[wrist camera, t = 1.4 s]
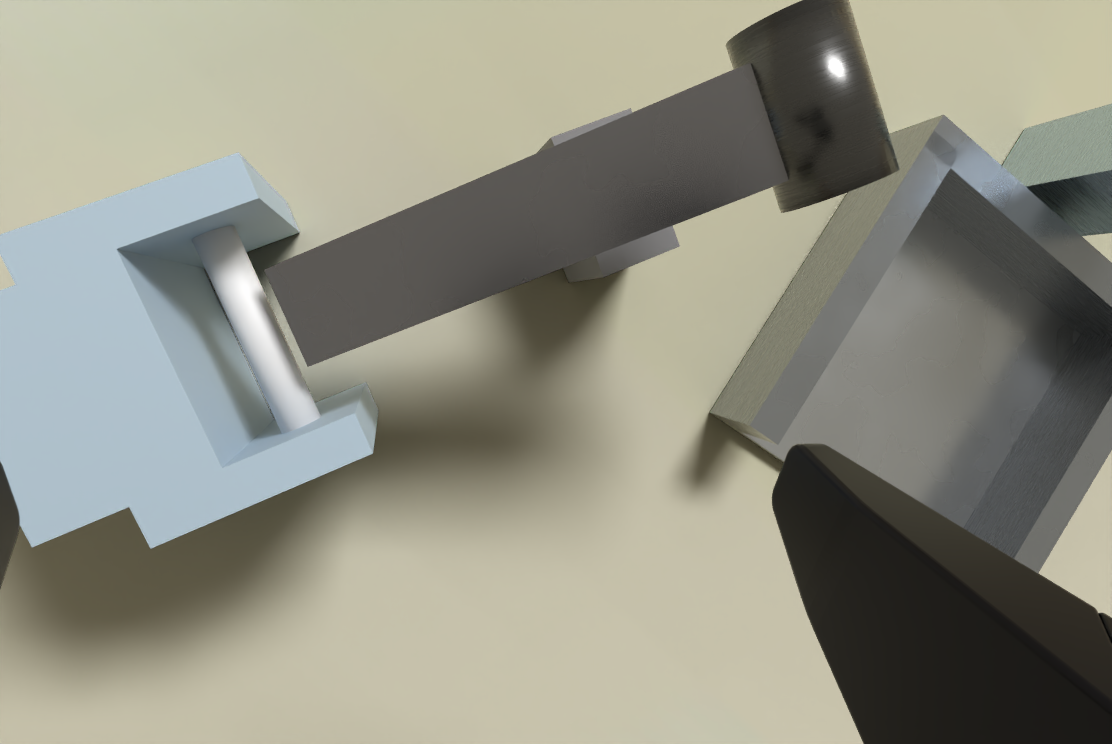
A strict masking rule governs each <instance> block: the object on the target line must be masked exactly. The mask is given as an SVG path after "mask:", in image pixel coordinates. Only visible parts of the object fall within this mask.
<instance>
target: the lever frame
mask: <svg viewBox="0 0 1112 744" xmlns="http://www.w3.org/2000/svg"><path fill="white" fill-rule="evenodd" d="M631 113H632V111H631V108H630V109H627V110H625V111H622V112H619V113H616V114H614V115H611V116H608V117H606V118H603V119H600V120H597V121H595V122H592V123H589V124H587V125H584V126H581V127H578V128H576V129H573V130H570V131H568V132H565V133H562V134H559V135H557V136H554V137H551V138H550V139H549V140H548V141H547V143H546V144H545V145H544V146H543V147H542V148H541V149H540V150H539V151H538V152H537V153H539V152H541V151H544V150H546V149H549V148H551V147H553V146H556V145H558V144H560V143H563V142H565V141H567V140H570V139H572V138H574V137H577V136H579V135H581V134H584V133H586V132H588V131H591V130H593V129H595V128H598V127H600V126H603V125H605V124H607V123H610V122H612V121H614V120H617V119H619V118H621V117H624V116H626V115H628V114H631ZM537 153H536V154H537ZM297 233H300V231H299V229H298V227H297V224H296V222H295V220H294V218H293V215H292V213H291V211H290V208H289V206H288V204H287V202H286V200H285V199H284V198H283V197H282V196H281V195H280V194H279V193H278V192H277V191H276V190H275V189H274V188H273V187H272V186H271V185H270V184H269V183H268V182H267V181H266V180H265V179H264V178H263V177H262V176H261V175H260V174H259V173H258V172H257V171H256V170H255V169H254V168H253V167H252V166H251V165H250V164H249V163H248V162H247V161H246V159H245V158H244V157H243V156H242V155H241V154H240V153H239V152H238V153H235V154H232V155H230V156H227V157H224V158H221V159H218V160H215V161H212V162H209V163H206V164H203V165H201V166H198V167H195V168H192V169H189V170H186V171H183V172H180V173H177V174H174V175H172V176H169V177H166V178H163V179H160V180H157V181H154V182H151V183H148V184H145V185H143V186H140V187H137V188H134V189H131V190H128V191H125V192H122V193H119V194H117V195H114V196H111V197H108V198H105V199H102V200H99V201H96V202H93V203H90V204H88V205H85V206H82V207H79V208H76V209H73V210H70V211H67V212H64V213H61V214H59V215H56V216H53V217H50V218H47V219H44V220H41V221H38V222H35V223H32V224H30V225H27V226H24V227H21V228H18V229H15V230H12V231H9V232H6V233H3V234H1V235H0V255H1V257H2V259H3V261H4V263H5V265H6V267H7V269H8V271H9V273H10V275H11V277H12V278H13V280H14V282H15V284H16V285H14V286H11V287H8V288H6V289H3V290H0V461H1V463H2V465H3V468H4V471H5V473H6V476H7V479H8V482H9V485H10V487H11V490H12V493H13V496H14V499H15V501H16V504H17V507H18V510H19V516H20V526H21V528H22V530H23V532H24V534H25V536H26V537H27V539H28V541H29V543H30V545H31V547H34V546H37V545H39V544H41V543H44V542H46V541H49V540H51V539H53V538H56V537H58V536H61V535H63V534H65V533H68V532H70V531H73V530H75V529H77V528H80V527H82V526H85V525H87V524H89V523H92V522H94V521H97V520H99V519H101V518H104V517H106V516H109V515H111V514H113V513H116V512H118V511H121V510H123V509H125V508H128V507H129V508H130V510H131V512H132V514H133V516H134V518H135V519H136V521H137V523H138V525H139V527H140V529H141V531H142V533H143V535H144V537H145V539H146V541H147V543H148V545H149V547H150V549H151V548H153V547H156V546H158V545H160V544H163V543H165V542H167V541H170V540H172V539H174V538H177V537H179V536H181V535H184V534H186V533H188V532H191V531H193V530H195V529H198V528H200V527H202V526H205V525H207V524H209V523H212V522H214V521H216V520H219V519H221V518H223V517H226V516H228V515H230V514H233V513H235V512H237V511H240V510H242V509H244V508H247V507H249V506H251V505H254V504H256V503H258V502H261V501H263V500H265V499H268V498H270V497H273V496H275V495H277V494H280V493H282V492H284V491H287V490H289V489H291V488H294V487H296V486H298V485H301V484H303V483H305V482H308V481H310V480H312V479H315V478H317V477H319V476H322V475H324V474H326V473H329V472H331V471H333V470H336V469H338V468H340V467H343V466H345V465H347V464H350V463H352V462H354V461H357V460H359V459H361V458H364V457H366V456H368V455H371V454H373V449H374V442H375V434H376V427H377V419H378V412H379V410H378V408H377V406H376V404H375V401H374V399H373V397H372V395H371V392H370V390H369V388H368V386H367V383H366V382H365V383H362V384H360V385H358V386H355V387H353V388H350V389H348V390H345V391H343V392H340V393H338V394H336V395H333V396H331V397H328V398H326V399H323V400H321V401H319V402H316V403H315V402H314V400H313V398H312V396H311V393H310V391H309V389H308V387H307V385H306V382H305V380H304V378H303V376H302V374H301V371H300V369H299V367H298V365H297V363H296V360H295V358H294V356H293V354H292V352H291V349H290V347H289V345H288V343H287V341H286V338H285V336H284V334H283V332H282V330H281V327H280V325H279V323H278V321H277V319H276V316H275V314H274V312H273V310H272V308H271V305H270V303H269V301H268V299H267V297H266V294H265V292H264V290H263V288H262V286H261V284H260V281H259V279H258V277H257V275H256V273H255V270H254V268H253V266H252V264H251V262H250V259H249V257H248V255H247V253H246V252H248V251H251V250H254V249H256V248H259V247H262V246H265V245H267V244H270V243H273V242H275V241H278V240H281V239H284V238H286V237H289V236H292V235H294V234H297ZM679 246H680V245H679V243H678V240H677V237H676V234H675V231H674V229H673V226H670V227H667V228H665V229H662V230H659V231H657V232H654V233H652V234H649V235H647V236H644V237H641V238H639V239H636V240H634V241H631V242H629V243H626V244H623V245H621V246H618V247H616V248H613V249H610V250H608V251H605V252H603V253H600V254H598V255H595V256H592V257H590V258H587V259H585V260H582V261H579V262H577V263H574V264H572V265H569V266H567V267H564V268H563V270H564V272H565V275H566V277H567V280H568V283H570V282H576V281H583V280H589V279H596V278H603V277H606V276H608V275H611V274H613V273H616V272H618V271H620V270H623V269H625V268H628V267H630V266H633V265H635V264H638V263H640V262H642V261H645V260H647V259H650V258H652V257H655V256H657V255H660V254H662V253H664V252H667V251H669V250H672V249H674V248H677V247H679ZM204 268H205V270H206V272H207V274H208V276H209V278H210V280H211V282H212V285H213V287H214V289H215V291H216V293H217V295H218V297H219V300H220V302H221V304H222V306H223V308H224V310H225V312H226V315H227V317H228V319H229V321H230V323H231V325H232V328H233V330H234V332H235V334H236V336H237V338H238V340H239V343H240V345H241V347H242V349H243V351H244V353H245V355H246V358H247V360H248V362H249V364H250V366H251V368H252V370H253V373H254V375H255V377H256V379H257V381H258V383H259V386H260V388H261V390H262V392H263V394H264V396H265V398H266V401H267V403H268V405H269V407H270V409H271V411H272V413H273V416H274V418H275V420H274V419H273V416H272V414H271V412H270V410H269V408H268V406H267V404H266V401H265V399H264V397H263V395H262V393H261V391H260V388H259V386H258V384H257V382H256V380H255V378H254V376H253V373H252V371H251V369H250V367H249V365H248V363H247V361H246V358H245V356H244V354H243V352H242V350H241V348H240V346H239V343H238V341H237V339H236V337H235V335H234V333H233V331H232V328H231V326H230V324H229V322H228V320H227V318H226V316H225V313H224V311H223V309H222V307H221V305H220V303H219V300H218V298H217V296H216V294H215V292H214V290H213V288H212V285H211V283H210V281H209V279H208V277H207V275H206V273H205V270H204Z"/></svg>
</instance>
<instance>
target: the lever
mask: <svg viewBox="0 0 1112 744" xmlns="http://www.w3.org/2000/svg"><path fill="white" fill-rule="evenodd" d="M726 48H727V51H728V54H729V57H730V60H731V63H732V66H733V69H734V70H732V71H729V72H727V73H725V74H722V75H720V76H718V77H715V78H713V79H711V80H708V81H706V82H704V83H701V84H699V85H696V86H694V87H692V88H689V89H687V90H685V91H682V92H680V93H678V94H675V95H673V96H671V97H668V98H666V99H664V100H661V101H659V102H657V103H654V104H652V105H649V106H647V107H645V108H642V109H640V110H638V111H635V112H633V113H631V114H628V115H626V116H624V117H621V118H619V119H617V120H614V121H612V122H610V123H607V124H605V125H603V126H600V127H598V128H595V129H593V130H591V131H588V132H586V133H584V134H581V135H579V136H577V137H574V138H572V139H570V140H567V141H565V142H563V143H560V144H558V145H556V146H553V147H551V148H549V149H546V150H544V151H541V152H539V153H537V154H534V155H532V156H530V157H527V158H525V159H523V160H520V161H518V162H516V163H513V164H511V165H509V166H506V167H504V168H502V169H499V170H497V171H494V172H492V173H490V174H487V175H485V176H483V177H480V178H478V179H476V180H473V181H471V182H469V183H466V184H464V185H462V186H459V187H457V188H455V189H452V190H450V191H448V192H445V193H443V194H440V195H438V196H436V197H433V198H431V199H429V200H426V201H424V202H422V203H419V204H417V205H415V206H412V207H410V208H408V209H405V210H403V211H401V212H398V213H396V214H394V215H391V216H389V217H386V218H384V219H382V220H379V221H377V222H375V223H372V224H370V225H368V226H365V227H363V228H361V229H358V230H356V231H354V232H351V233H349V234H347V235H344V236H342V237H339V238H337V239H335V240H332V241H330V242H328V243H325V244H323V245H321V246H318V247H316V248H314V249H311V250H309V251H307V252H304V253H302V254H300V255H297V256H295V257H293V258H290V259H288V260H285V261H283V262H281V263H278V264H276V265H274V266H271V267H269V268H267V269H264V271H265V273H266V275H267V278H268V280H269V282H270V284H271V286H272V289H273V291H274V293H275V295H276V297H277V300H278V302H279V304H280V306H281V308H282V311H283V313H284V315H285V317H286V320H287V322H288V324H289V326H290V328H291V331H292V333H293V335H294V337H295V339H296V342H297V344H298V346H299V348H300V350H301V353H302V355H303V357H304V359H305V362H306V364H307V366H311V365H314V364H316V363H319V362H321V361H324V360H327V359H329V358H332V357H334V356H337V355H339V354H342V353H345V352H347V351H350V350H352V349H355V348H357V347H360V346H363V345H365V344H368V343H370V342H373V341H376V340H378V339H381V338H383V337H386V336H388V335H391V334H394V333H396V332H399V331H401V330H404V329H407V328H409V327H412V326H414V325H417V324H419V323H422V322H425V321H427V320H430V319H432V318H435V317H438V316H440V315H443V314H445V313H448V312H450V311H453V310H456V309H458V308H461V307H463V306H466V305H468V304H471V303H474V302H476V301H479V300H481V299H484V298H487V297H489V296H492V295H494V294H497V293H499V292H502V291H505V290H507V289H510V288H512V287H515V286H518V285H520V284H523V283H525V282H528V281H530V280H533V279H536V278H538V277H541V276H543V275H546V274H548V273H551V272H554V271H556V270H559V269H561V268H564V267H567V266H569V265H572V264H574V263H577V262H579V261H582V260H585V259H587V258H590V257H592V256H595V255H598V254H600V253H603V252H605V251H608V250H610V249H613V248H616V247H618V246H621V245H623V244H626V243H629V242H631V241H634V240H636V239H639V238H641V237H644V236H647V235H649V234H652V233H654V232H657V231H659V230H662V229H665V228H667V227H670V226H672V225H675V224H678V223H680V222H683V221H685V220H688V219H690V218H693V217H696V216H698V215H701V214H703V213H706V212H709V211H711V210H714V209H716V208H719V207H721V206H724V205H727V204H729V203H732V202H734V201H737V200H739V199H742V198H745V197H747V196H750V195H752V194H755V193H758V192H760V191H763V190H765V189H768V188H770V187H773V190H774V193H775V196H776V199H777V202H778V205H779V208H780V211H781V213H784V212H789V211H793V210H796V209H800V208H803V207H806V206H809V205H812V204H815V203H818V202H821V201H824V200H827V199H830V198H833V197H836V196H838V195H841V194H844V193H847V192H849V191H852V190H855V189H857V188H860V187H862V186H865V185H867V184H870V183H872V182H875V181H877V180H880V179H882V178H884V177H887V176H889V175H891V174H893V173H895V172H897V171H898V170H900V168H899V165H898V162H897V158H896V155H895V152H894V148H893V145H892V142H891V138H890V135H889V132H888V129H887V125H886V122H885V119H884V115H883V112H882V109H881V105H880V102H879V99H878V95H877V92H876V89H875V85H874V82H873V79H872V75H871V72H870V69H869V65H868V62H867V59H866V56H865V52H864V49H863V46H862V42H861V39H860V36H859V32H858V29H857V26H856V22H855V19H854V16H853V12H852V9H851V6H850V2H849V0H802V1H800V2H797V3H795V4H793V5H791V6H788V7H786V8H784V9H782V10H780V11H778V12H776V13H774V14H772V15H770V16H768V17H766V18H764V19H762V20H760V21H758V22H756V23H755V24H753V25H751V26H749V27H748V28H746V29H745V30H743V31H741V32H740V33H738V34H737V35H735V36H734V37H733V38H732V39H730V40H729V41H728V42H727V44H726Z"/></svg>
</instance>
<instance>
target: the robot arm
mask: <svg viewBox="0 0 1112 744" xmlns="http://www.w3.org/2000/svg"><path fill="white" fill-rule="evenodd" d="M772 506H773V511H774V514H775V517H776V520H777V524H778V527H779V530H780V533H781V536H782V539H783V542H784V545H785V549H786V552H787V555H788V558H789V561H790V564H791V567H792V570H793V574H794V577H795V580H796V583H797V586H798V589H799V592H800V596H801V598H802V601H803V604H804V607H805V610H806V612H807V615H808V617H809V620H810V622H811V625H812V627H813V630H814V632H815V634H816V637H817V639H818V641H819V643H820V646H821V648H822V650H823V652H824V655H825V657H826V659H827V662H828V664H829V666H830V668H831V671H832V673H833V675H834V677H835V680H836V682H837V684H838V687H839V689H840V691H841V693H842V696H843V698H844V700H845V702H846V705H847V707H848V709H849V712H850V714H851V716H852V718H853V721H854V723H855V725H856V727H857V730H858V732H859V734H860V737H861V739H862V741H863V743H864V744H1112V618H1111V617H1110V616H1108V615H1106V614H1104V613H1098V612H1097V610H1096V608H1094V607H1093V606H1091V605H1089V604H1088V603H1086V602H1085V601H1083V600H1081V599H1080V598H1078V597H1076V596H1075V595H1073V594H1071V593H1070V592H1068V591H1066V590H1065V589H1063V588H1061V587H1060V586H1058V585H1056V584H1055V583H1053V582H1052V581H1050V580H1048V579H1047V578H1045V577H1043V576H1042V575H1040V574H1038V573H1037V572H1035V571H1033V570H1032V569H1030V568H1028V567H1027V566H1025V565H1023V564H1022V563H1020V562H1019V561H1017V560H1015V559H1014V558H1012V557H1010V556H1009V555H1007V554H1005V553H1004V552H1002V551H1000V550H999V549H997V548H995V547H994V546H992V545H991V544H989V543H987V542H986V541H984V540H982V539H981V538H979V537H977V536H976V535H974V534H972V533H971V532H969V531H967V530H966V529H964V528H962V527H961V526H959V525H958V524H956V523H954V522H953V521H951V520H949V519H948V518H946V517H944V516H943V515H941V514H939V513H938V512H936V511H934V510H933V509H931V508H930V507H928V506H926V505H925V504H923V503H921V502H920V501H918V500H916V499H915V498H913V497H911V496H910V495H908V494H906V493H905V492H903V491H902V490H900V489H898V488H897V487H895V486H893V485H892V484H890V483H888V482H887V481H885V480H883V479H882V478H880V477H878V476H877V475H875V474H874V473H872V472H870V471H869V470H867V469H865V468H864V467H862V466H860V465H859V464H857V463H855V462H854V461H852V460H850V459H849V458H847V457H845V456H844V455H842V454H841V453H839V452H837V451H836V450H834V449H832V448H831V447H829V446H827V445H825V444H819V443H814V444H796V445H793V446H792V447H791V448H790V449H789V451H788V453H787V455H786V458H785V460H784V463H783V466H782V468H781V471H780V473H779V476H778V479H777V481H776V484H775V486H774V489H773V494H772ZM19 526H20V516H19V510H18V507H17V504H16V501H15V499H14V496H13V493H12V490H11V487H10V485H9V482H8V479H7V476H6V473H5V471H4V468H3V465H2V463H1V461H0V588H1V585H2V582H3V579H4V576H5V573H6V570H7V567H8V564H9V561H10V558H11V555H12V552H13V548H14V545H15V542H16V539H17V536H18V532H19Z"/></svg>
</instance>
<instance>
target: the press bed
mask: <svg viewBox="0 0 1112 744" xmlns="http://www.w3.org/2000/svg"><path fill="white" fill-rule="evenodd" d="M889 135H890V138H891V142H892V145H893V148H894V152H895V155H896V158H897V162H898V165H899V168H900V170H898V171H897V172H895V173H893V174H891V175H889V176H887V177H884V178H882V179H880V180H877V181H875V182H872V183H870V184H867V185H865V186H862V187H860V188H857V189H855V190H852V191H849V192H848V193H847V195H846V196H845V198H844V199H843V201H842V203H841V204H840V206H839V207H838V209H837V210H836V212H835V214H834V215H833V217H832V218H831V220H830V222H829V223H828V225H827V226H826V228H825V230H824V231H823V233H822V234H821V236H820V238H819V239H818V241H817V242H816V244H815V245H814V247H813V249H812V250H811V252H810V253H809V255H808V257H807V258H806V260H805V261H804V263H803V265H802V266H801V268H800V269H799V271H798V273H797V274H796V276H795V277H794V279H793V280H792V282H791V284H790V285H789V287H788V288H787V290H786V292H785V293H784V295H783V296H782V298H781V300H780V301H779V303H778V304H777V306H776V308H775V309H774V311H773V312H772V314H771V315H770V317H769V319H768V320H767V322H766V323H765V325H764V327H763V328H762V330H761V331H760V333H759V335H758V336H757V338H756V339H755V341H754V342H753V344H752V346H751V347H750V349H749V350H748V352H747V354H746V355H745V357H744V358H743V360H742V362H741V363H740V365H739V366H738V368H737V370H736V371H735V373H734V374H733V376H732V377H731V379H730V381H729V382H728V384H727V385H726V387H725V389H724V390H723V392H722V393H721V395H720V397H719V398H718V400H717V401H716V403H715V405H714V406H713V408H712V409H711V411H710V413H711V414H713V415H714V416H716V417H717V418H718V419H720V420H721V421H723V422H724V423H726V424H727V425H729V426H730V427H732V428H733V429H735V430H736V431H738V432H739V433H740V434H742V435H743V436H745V437H746V438H748V439H749V440H751V441H752V442H754V443H755V444H757V445H758V446H759V447H761V448H762V449H764V450H765V451H767V452H768V453H770V454H771V455H773V456H774V457H776V458H777V459H779V460H780V461H781V462H783V463H784V460H785V458H786V455H787V453H788V451H789V449H790V448H791V447H792V446H793V445H796V444H814V443H819V444H825V445H827V446H829V447H831V448H832V449H834V450H836V451H837V452H839V453H841V454H842V455H844V456H845V457H847V458H849V459H850V460H852V461H854V462H855V463H857V464H859V465H860V466H862V467H864V468H865V469H867V470H869V471H870V472H872V473H874V474H875V475H877V476H878V477H880V478H882V479H883V480H885V481H887V482H888V483H890V484H892V485H893V486H895V487H897V488H898V489H900V490H902V491H903V492H905V493H906V494H908V495H910V496H911V497H913V498H915V499H916V500H918V501H920V502H921V503H923V504H925V505H926V506H928V507H930V508H931V509H933V510H934V511H936V512H938V513H939V514H941V515H943V516H944V517H946V518H948V519H949V520H951V521H953V522H954V523H956V524H958V525H959V526H961V527H962V528H964V529H966V530H967V531H969V532H971V533H972V534H974V535H976V536H977V537H979V538H981V539H982V540H984V541H986V542H987V543H989V544H991V545H992V546H994V547H995V548H997V549H999V550H1000V551H1002V552H1004V553H1005V554H1007V555H1009V556H1010V557H1012V558H1014V559H1015V560H1017V561H1019V562H1020V563H1022V564H1023V565H1025V566H1027V567H1028V568H1030V569H1032V570H1033V571H1035V572H1037V573H1039V571H1040V569H1041V568H1042V566H1043V564H1044V563H1045V561H1046V559H1047V558H1048V556H1049V554H1050V552H1051V551H1052V549H1053V547H1054V546H1055V544H1056V542H1057V541H1058V539H1059V537H1060V536H1061V534H1062V532H1063V531H1064V529H1065V527H1066V526H1067V524H1068V522H1069V521H1070V519H1071V517H1072V516H1073V514H1074V512H1075V511H1076V509H1077V507H1078V505H1079V504H1080V502H1081V500H1082V499H1083V497H1084V495H1085V494H1086V492H1087V490H1088V489H1089V487H1090V485H1091V484H1092V482H1093V480H1094V479H1095V477H1096V475H1097V474H1098V472H1099V470H1100V469H1101V467H1102V465H1103V464H1104V462H1105V460H1106V458H1107V457H1108V455H1109V453H1110V452H1111V450H1112V263H1111V262H1110V261H1109V260H1108V259H1107V258H1106V257H1104V256H1103V255H1102V254H1101V253H1100V252H1099V251H1098V250H1096V249H1095V248H1094V247H1093V246H1092V245H1091V244H1090V243H1089V242H1087V241H1086V240H1085V239H1084V238H1083V237H1082V236H1087V235H1096V234H1105V233H1112V104H1109V105H1106V106H1102V107H1099V108H1095V109H1092V110H1088V111H1085V112H1081V113H1078V114H1074V115H1071V116H1067V117H1064V118H1060V119H1057V120H1053V121H1050V122H1046V123H1043V124H1039V125H1036V126H1032V127H1029V128H1025V129H1024V131H1023V132H1022V134H1021V136H1020V137H1019V139H1018V140H1017V142H1016V144H1015V145H1014V147H1013V149H1012V150H1011V152H1010V153H1009V155H1008V157H1007V158H1006V160H1005V161H1004V163H1003V165H1002V166H1001V165H1000V164H999V163H998V162H997V161H996V160H995V159H993V158H992V157H991V156H990V155H989V154H988V153H987V152H985V151H984V150H983V149H982V148H981V147H980V146H979V145H978V144H976V143H975V142H974V141H973V140H972V139H971V138H970V137H968V136H967V135H966V134H965V133H964V132H963V131H962V130H961V129H959V128H958V127H957V126H956V125H955V124H954V123H953V122H951V121H950V120H949V119H948V118H947V117H946V116H945V115H941V116H939V117H936V118H933V119H930V120H927V121H924V122H922V123H919V124H916V125H913V126H910V127H907V128H905V129H902V130H899V131H896V132H893V133H890V134H889Z"/></svg>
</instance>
